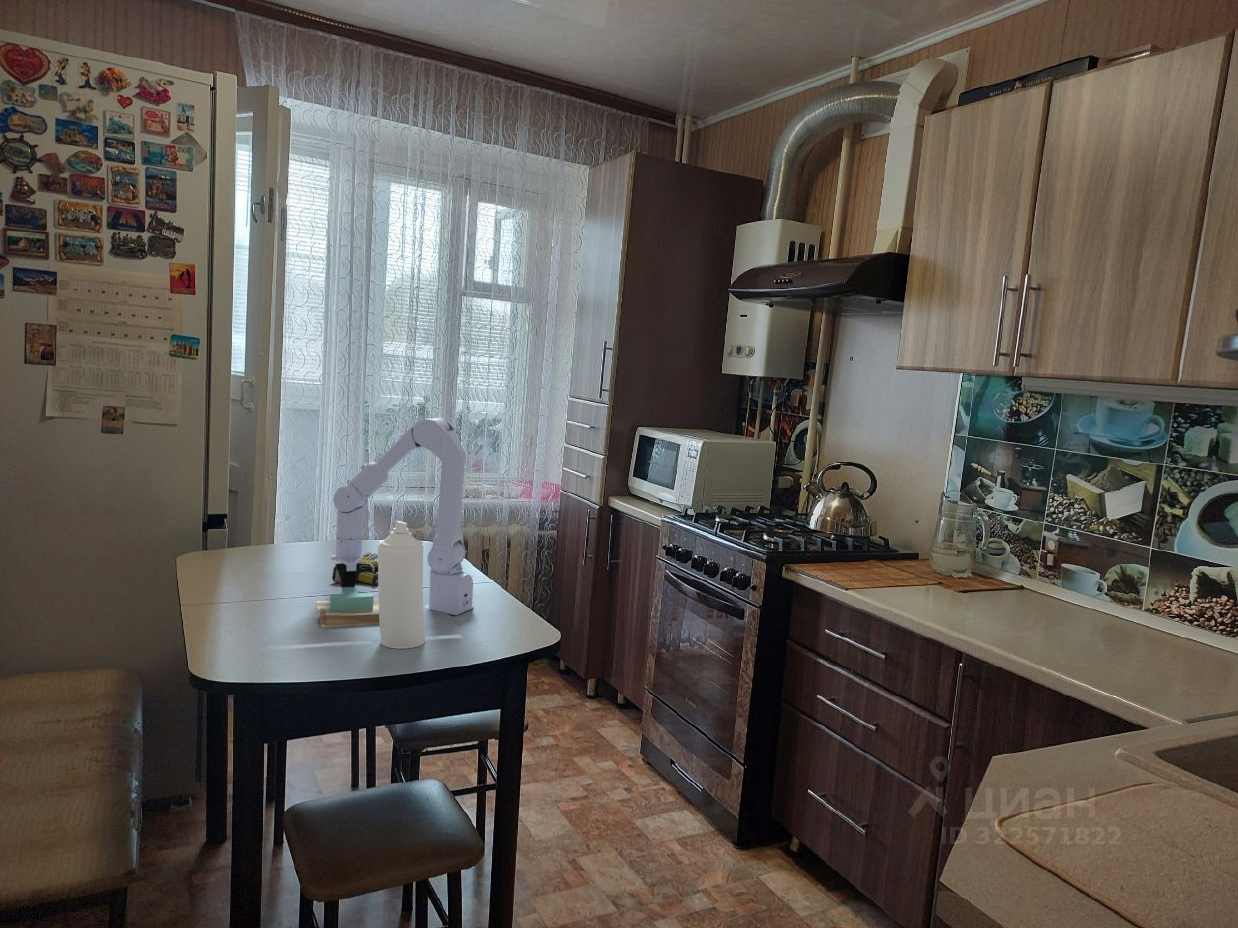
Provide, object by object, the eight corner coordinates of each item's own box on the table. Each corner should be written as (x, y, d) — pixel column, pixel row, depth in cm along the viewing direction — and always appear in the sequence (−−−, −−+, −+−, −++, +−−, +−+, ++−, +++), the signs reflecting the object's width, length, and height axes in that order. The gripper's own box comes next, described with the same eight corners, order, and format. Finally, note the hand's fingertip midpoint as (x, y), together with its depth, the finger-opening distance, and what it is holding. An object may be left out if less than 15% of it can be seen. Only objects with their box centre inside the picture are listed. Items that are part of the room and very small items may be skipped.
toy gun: (418, 559, 226) (366, 550, 226) (390, 574, 202) (331, 564, 202) (416, 575, 226) (363, 566, 227) (387, 593, 202) (329, 583, 203)
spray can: (436, 649, 160) (441, 524, 158) (382, 656, 154) (387, 526, 152) (416, 632, 170) (421, 514, 167) (365, 638, 164) (369, 515, 161)
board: (315, 603, 186) (316, 592, 186) (379, 600, 192) (379, 589, 191) (321, 629, 168) (321, 617, 168) (391, 625, 173) (391, 613, 173)
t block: (373, 609, 182) (373, 596, 182) (330, 611, 179) (330, 598, 178) (368, 598, 190) (368, 586, 190) (327, 600, 187) (328, 587, 186)
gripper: (328, 531, 194) (327, 587, 196) (333, 543, 181) (331, 603, 182) (359, 531, 197) (358, 586, 198) (366, 543, 184) (364, 602, 185)
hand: (347, 594), depth 190 cm, fingers closed
